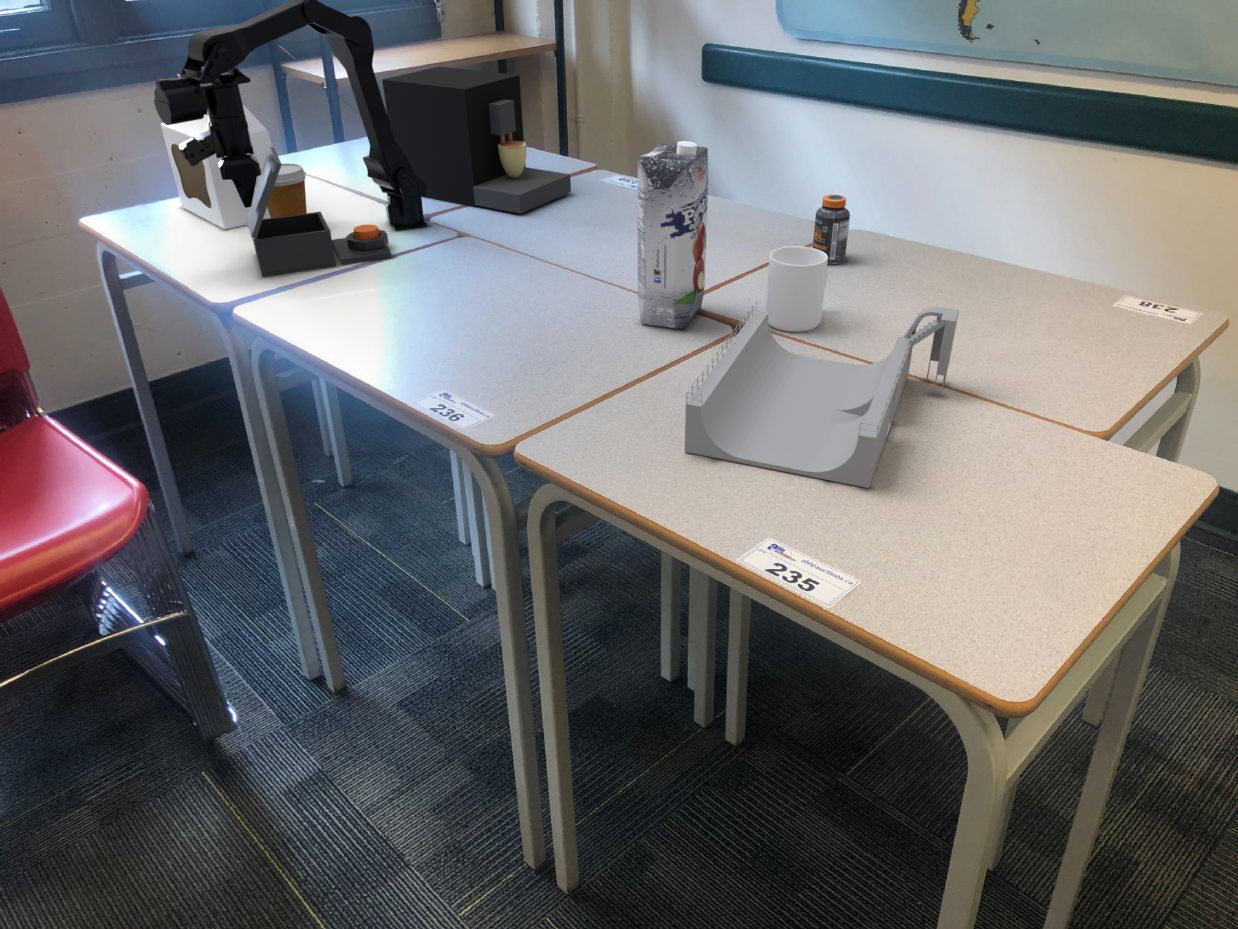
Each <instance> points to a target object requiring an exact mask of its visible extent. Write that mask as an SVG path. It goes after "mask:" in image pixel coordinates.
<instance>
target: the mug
mask: <svg viewBox="0 0 1238 929" xmlns="http://www.w3.org/2000/svg"><path fill="white" fill-rule="evenodd" d="M768 260H769V261H768V273H767V285H766V299H765V312H769V316H768V322H769V326H770V327H771V328H774V329H775V330H779V331H783V332H788V333H789V332H790V333H803V332H809V331H812V330H814V329H816V328H817V327H818V326H819V325H820V323H821V322H822V316H823V310H824V309H823V307H824V298H825V291H826V290H825V289H826V285H827V281H828V273H829V269H828V264H827V262H828V256H827V254H826V253H824V252H822V251H820V250H818V249H814V248H813V247H809V246H801V245H799V246H797V245H795V246H793V245H792V246H791V245H790V246H783V247H779V248H775V249H773V250H772V251H771V252H770V253H769V257H768Z"/></svg>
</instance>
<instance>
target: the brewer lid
mask: <svg viewBox="0 0 1238 929" xmlns="http://www.w3.org/2000/svg"><path fill="white" fill-rule="evenodd" d="M282 164H283V163H282V162H281V160H280V158H279V155H278V153H277V151H276V149H275V147H273V146H271V147H270V148H269V151H268V154H267V157H266V160H265V163H264V165H263V168H262V171H261V175H260V177H259V180H258V183H257V186H256V189H255V192H254V195H253V200H252V205H251V207H249V210H248V213H247V215H246V220H247V223H248V225H247V227H248V230H249V234H250V237H251V239H253V238H255V239H256V237H257V235H258V232H259V229H260V226H261V223H262V220H263V217H264V214H265V211H266V209H267V206H268V203H269V200H270V197H271V194H272V191H273V188H274V185H275V183H276V180H277V177H278V174H279V171H280V168H281V165H282Z"/></svg>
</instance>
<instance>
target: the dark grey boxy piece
mask: <svg viewBox="0 0 1238 929" xmlns="http://www.w3.org/2000/svg"><path fill="white" fill-rule="evenodd" d="M332 240H333V238H332V233H331V229H330V227H329V226H328V223H327V221H326V220H325V218H324V216H323V214H322V212H321V211H314V212H307V213H306V214H298V215H290V216H282V217H274V218H267V219H263V220H262V223H261V226H260V229H259V232H258V235H257V237H256V239H255V238H252V242H253V243H252V244H253V248H254V251H255V256H256V259H257V263H258V266H259V270H260V274H261V277H262V278H267V277H273V276H275V277H276V276H280V275H288V274H295V273H300V272H301V273H302V272H308V271H314V270H322V269H329V268H336V267H337V260H336V255H335V254H336V253H335V250H334V248H333V243H332Z"/></svg>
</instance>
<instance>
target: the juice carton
mask: <svg viewBox="0 0 1238 929" xmlns="http://www.w3.org/2000/svg"><path fill="white" fill-rule="evenodd" d="M636 185H637V186H636V188H637V192H636V193H637V194H636V197H637V200H636V202H637V204H636V205H637V206H636V207H637V303H638V312H639V317H640V318H639V319H640V322H641V324H643V325H648V326H655V327H663V328H669V329H675V330H684V329H685V328H686V327H688V325H689V324H690V322H691V321H692V320H693V318H694V317H695V316H696V315H697V314H698V313H699V312H700V310H701V308H702V305H703V300H704V296H705V284H706V256H707V229H708V198H709V197H708V196H709V149H708V147H706V146H698V143H696V142H692V141H689V140H680V141H677V144H673V143H672V144H669V143H658V144H656V146H655V147H654V148H653V149H652V150H651V151H650V152H648V153H645V154H642V155H640V156H639V157H638V159H637V184H636Z"/></svg>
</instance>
